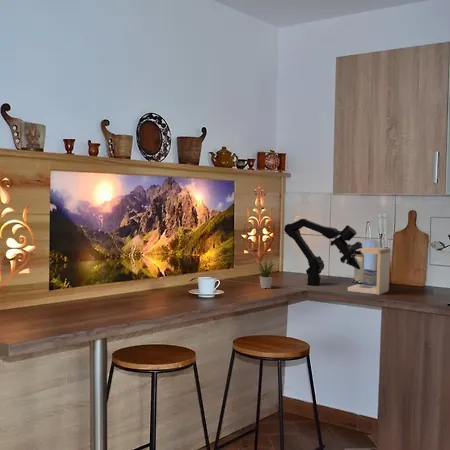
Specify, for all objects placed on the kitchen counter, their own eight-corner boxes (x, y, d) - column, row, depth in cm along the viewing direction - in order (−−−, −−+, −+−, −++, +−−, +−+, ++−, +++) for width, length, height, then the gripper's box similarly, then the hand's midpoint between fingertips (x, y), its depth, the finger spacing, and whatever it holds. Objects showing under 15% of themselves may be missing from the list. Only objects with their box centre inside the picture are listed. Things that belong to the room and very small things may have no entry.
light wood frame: (346, 291, 349) (348, 248, 347) (357, 287, 362) (359, 246, 361) (379, 294, 340) (380, 250, 338) (388, 290, 353) (390, 248, 352)
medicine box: (361, 284, 375) (362, 269, 375) (367, 283, 378) (367, 268, 377) (372, 286, 369) (373, 270, 368) (378, 285, 372) (378, 270, 371)
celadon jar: (355, 281, 351) (356, 254, 350) (353, 279, 356) (353, 253, 355) (364, 281, 351) (365, 255, 350) (362, 279, 356) (362, 254, 355)
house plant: (281, 286, 360) (282, 256, 359) (281, 290, 346) (282, 259, 345) (255, 285, 361) (256, 255, 360) (254, 289, 347) (254, 258, 346)
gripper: (346, 237, 347) (365, 260, 341) (360, 235, 362) (378, 257, 357) (332, 251, 352) (350, 273, 346) (346, 249, 367) (364, 270, 362)
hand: (361, 268), depth 352 cm, fingers closed on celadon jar, 5 cm apart
